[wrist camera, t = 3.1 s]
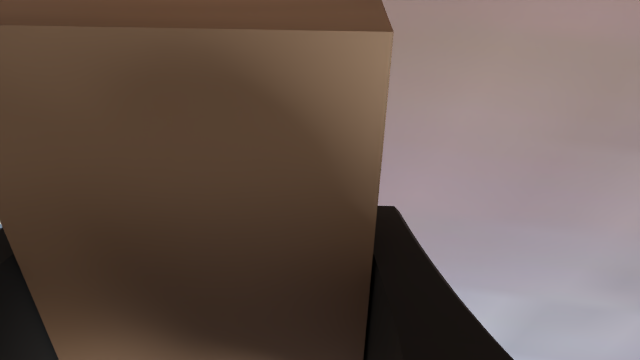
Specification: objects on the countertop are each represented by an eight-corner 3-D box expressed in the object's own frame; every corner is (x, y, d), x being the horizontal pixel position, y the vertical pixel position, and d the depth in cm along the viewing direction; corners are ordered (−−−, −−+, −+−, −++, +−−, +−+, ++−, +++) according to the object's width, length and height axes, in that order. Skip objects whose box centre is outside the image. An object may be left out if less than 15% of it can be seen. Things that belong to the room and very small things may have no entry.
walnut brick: (346, 322, 13) (352, 478, 10) (162, 319, 13) (106, 472, 10) (368, -35, 8) (393, 32, 5) (79, -39, 9) (-84, 23, 5)
